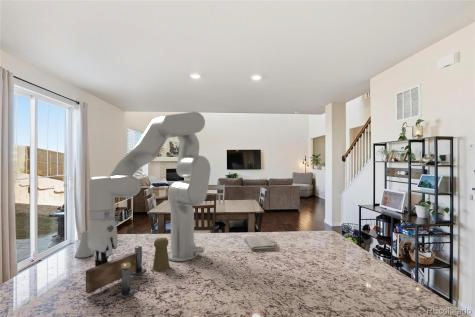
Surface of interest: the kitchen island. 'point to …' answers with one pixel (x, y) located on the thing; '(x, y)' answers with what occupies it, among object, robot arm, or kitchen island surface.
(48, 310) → the kitchen island surface
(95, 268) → the brown wooden plank
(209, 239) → the kitchen island surface
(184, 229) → the robot arm
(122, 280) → the grey upright posts
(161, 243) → the olive rounded lobed piece
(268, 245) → the washcloth
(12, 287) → the kitchen island surface
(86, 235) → the flask
